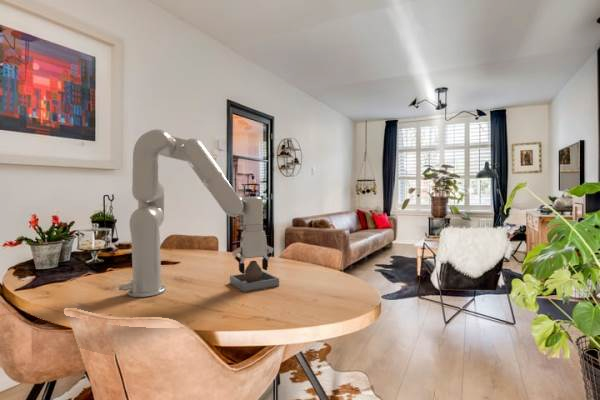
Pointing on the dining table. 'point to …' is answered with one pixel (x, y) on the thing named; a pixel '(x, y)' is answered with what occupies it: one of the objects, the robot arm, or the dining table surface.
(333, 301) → the dining table surface
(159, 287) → the robot arm
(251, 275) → the vase
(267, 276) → the tray
